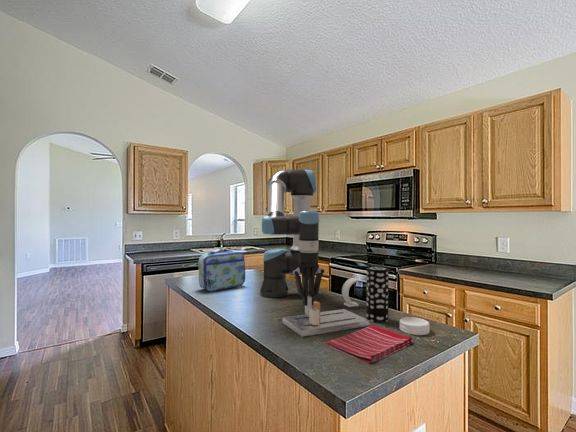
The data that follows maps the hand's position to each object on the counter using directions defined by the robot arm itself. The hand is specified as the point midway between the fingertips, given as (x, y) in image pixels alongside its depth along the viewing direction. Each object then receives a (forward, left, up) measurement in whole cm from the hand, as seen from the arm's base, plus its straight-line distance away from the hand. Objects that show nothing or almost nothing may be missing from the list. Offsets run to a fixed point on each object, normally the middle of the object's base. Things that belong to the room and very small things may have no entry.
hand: (308, 313), depth 120 cm
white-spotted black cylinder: (+7, +27, -4) cm, 28 cm away
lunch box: (-71, -17, -4) cm, 73 cm away
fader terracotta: (0, +3, -1) cm, 3 cm away
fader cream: (+8, -2, -1) cm, 8 cm away
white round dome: (+22, +31, -4) cm, 38 cm away
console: (+4, +5, -3) cm, 7 cm away
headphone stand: (-14, +29, -4) cm, 33 cm away
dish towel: (+26, +8, -4) cm, 28 cm away
